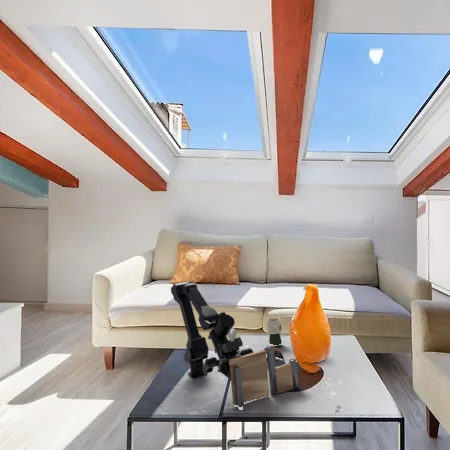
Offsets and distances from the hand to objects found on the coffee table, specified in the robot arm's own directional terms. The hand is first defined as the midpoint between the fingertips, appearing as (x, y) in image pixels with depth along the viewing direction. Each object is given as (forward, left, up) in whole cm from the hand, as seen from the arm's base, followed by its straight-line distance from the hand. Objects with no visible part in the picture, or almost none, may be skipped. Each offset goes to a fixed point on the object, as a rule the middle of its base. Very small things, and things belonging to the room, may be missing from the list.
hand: (237, 382), depth 131 cm
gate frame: (+3, +10, -7) cm, 13 cm away
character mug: (-40, +43, -7) cm, 59 cm away
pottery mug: (-23, +30, -7) cm, 38 cm away
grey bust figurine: (-47, +23, -7) cm, 53 cm away
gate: (+3, +3, -6) cm, 8 cm away
